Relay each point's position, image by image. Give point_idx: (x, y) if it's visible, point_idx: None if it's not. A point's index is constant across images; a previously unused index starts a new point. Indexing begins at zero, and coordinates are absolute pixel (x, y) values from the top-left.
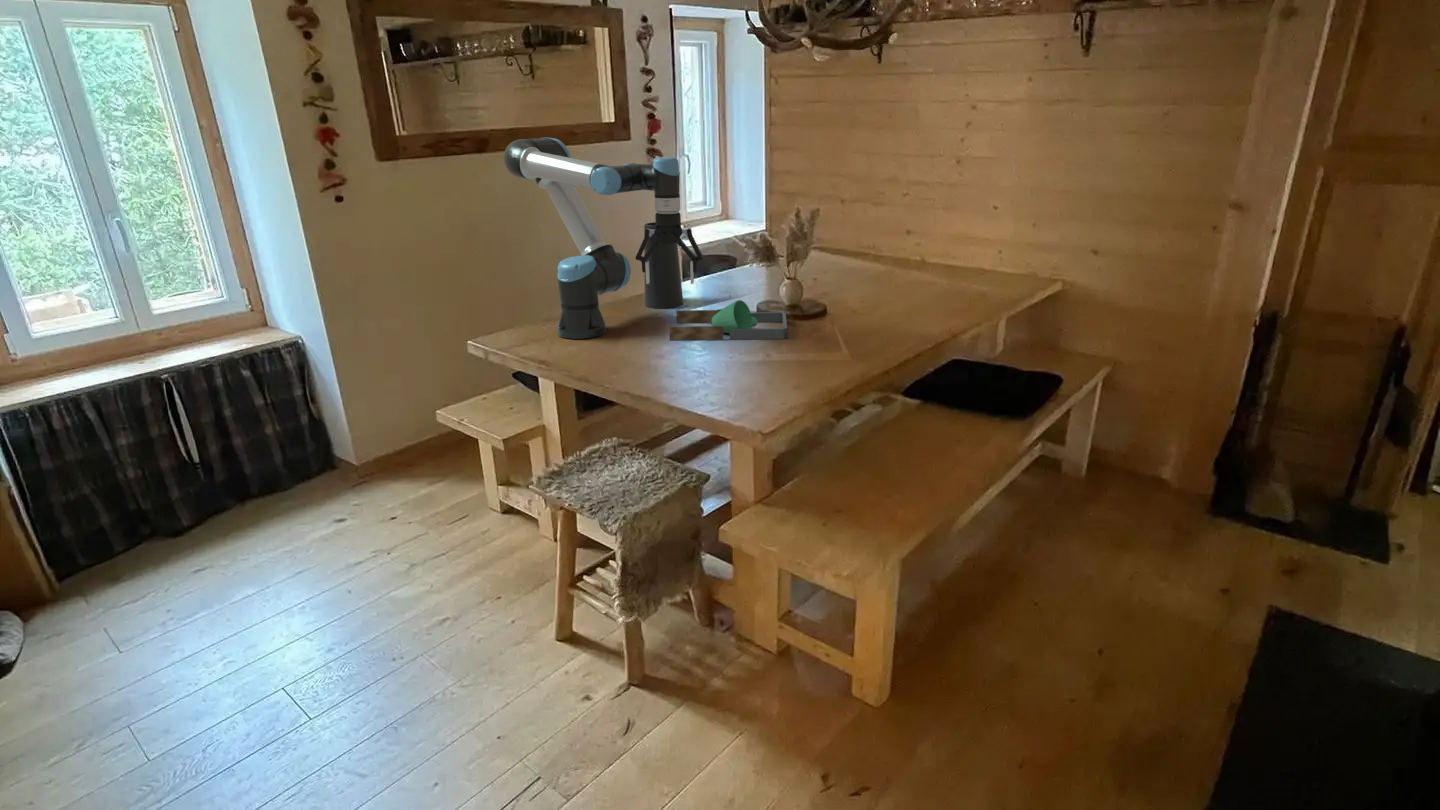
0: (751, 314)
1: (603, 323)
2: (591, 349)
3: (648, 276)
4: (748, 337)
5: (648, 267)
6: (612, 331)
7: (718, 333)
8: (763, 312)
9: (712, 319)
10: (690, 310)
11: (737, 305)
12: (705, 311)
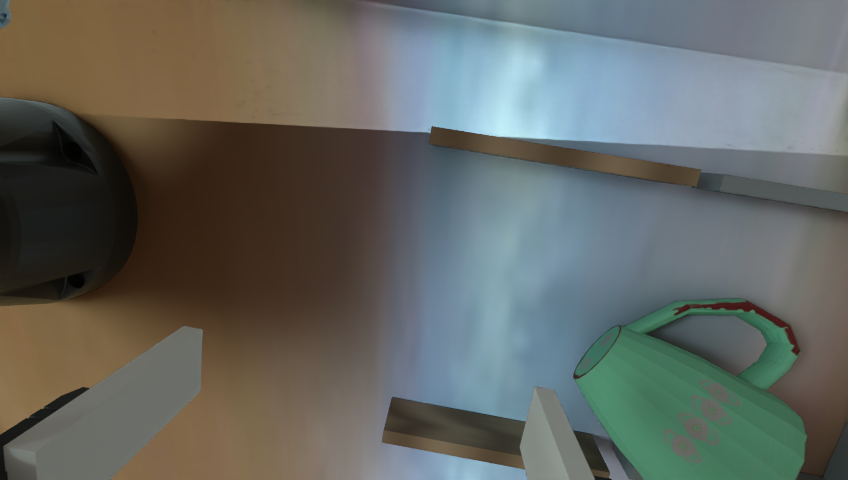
0: (815, 206)
1: (101, 238)
2: None
3: (162, 419)
4: None
5: (98, 453)
6: (163, 226)
7: None
8: None
9: (583, 384)
10: (505, 143)
11: (752, 424)
12: (583, 168)
